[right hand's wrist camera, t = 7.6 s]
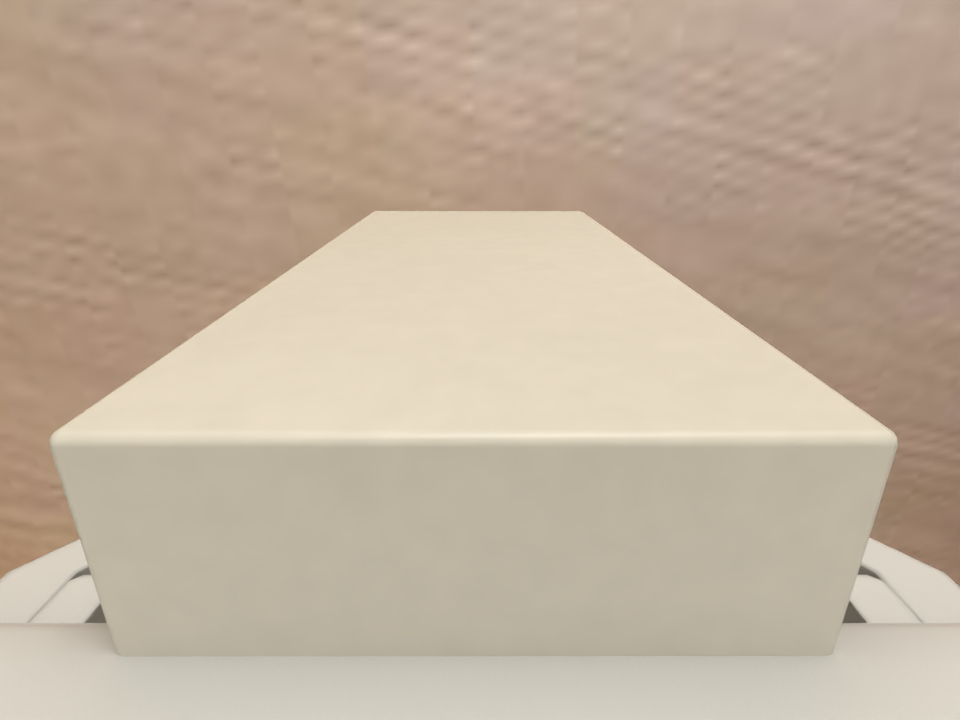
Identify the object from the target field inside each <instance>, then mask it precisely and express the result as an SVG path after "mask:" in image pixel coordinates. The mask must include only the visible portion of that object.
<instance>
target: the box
mask: <svg viewBox="0 0 960 720" xmlns="http://www.w3.org/2000/svg"><path fill="white" fill-rule="evenodd" d="M897 447H898V442H897V437H896V435H895V433H894V432H893V431H891V430H890V429H889V428H887V427H886V426H884V425H883V424H881V423H880V422H879V421H877V420H876V419H874V418H873V417H872V416H870V415H869V414H867V413H866V412H864V411H863V410H862V409H860V408H859V407H857V406H856V405H855V404H853V403H852V402H850V401H849V400H848V399H846V398H845V397H843V396H842V395H840V394H839V393H838V392H836V391H835V390H833V389H832V388H831V387H829V386H828V385H826V384H825V383H824V382H822V381H821V380H819V379H818V378H816V377H815V376H814V375H812V374H811V373H809V372H808V371H807V370H805V369H804V368H802V367H801V366H800V365H798V364H797V363H795V362H794V361H792V360H791V359H790V358H788V357H787V356H785V355H784V354H783V353H781V352H780V351H778V350H777V349H776V348H774V347H773V346H771V345H770V344H768V343H767V342H766V341H764V340H763V339H761V338H760V337H759V336H757V335H756V334H754V333H753V332H752V331H750V330H749V329H747V328H746V327H744V326H743V325H742V324H740V323H739V322H737V321H736V320H735V319H733V318H732V317H730V316H729V315H727V314H726V313H725V312H723V311H722V310H720V309H719V308H718V307H716V306H715V305H713V304H712V303H711V302H709V301H708V300H706V299H705V298H703V297H702V296H701V295H699V294H698V293H696V292H695V291H694V290H692V289H691V288H689V287H688V286H687V285H685V284H684V283H682V282H681V281H679V280H678V279H677V278H675V277H674V276H672V275H671V274H670V273H668V272H667V271H665V270H664V269H663V268H661V267H660V266H658V265H657V264H655V263H654V262H653V261H651V260H650V259H648V258H647V257H646V256H644V255H643V254H641V253H640V252H639V251H637V250H636V249H634V248H633V247H631V246H630V245H629V244H627V243H626V242H624V241H623V240H622V239H620V238H619V237H617V236H616V235H614V234H613V233H612V232H610V231H609V230H607V229H606V228H605V227H603V226H602V225H600V224H599V223H598V222H596V221H595V220H593V219H592V218H590V217H589V216H588V215H586V214H585V213H583V212H581V211H375V212H372V213H371V214H370V215H368V216H367V217H365V218H364V219H362V220H361V221H359V222H358V223H357V224H355V225H354V226H352V227H351V228H349V229H348V230H346V231H345V232H344V233H342V234H341V235H339V236H338V237H336V238H335V239H333V240H332V241H330V242H329V243H328V244H326V245H325V246H323V247H322V248H320V249H319V250H317V251H316V252H315V253H313V254H312V255H310V256H309V257H307V258H306V259H304V260H303V261H301V262H300V263H299V264H297V265H296V266H294V267H293V268H291V269H290V270H288V271H287V272H286V273H284V274H283V275H281V276H280V277H278V278H277V279H275V280H274V281H272V282H271V283H270V284H268V285H267V286H265V287H264V288H262V289H261V290H259V291H258V292H257V293H255V294H254V295H252V296H251V297H249V298H248V299H246V300H245V301H243V302H242V303H241V304H239V305H238V306H236V307H235V308H233V309H232V310H230V311H229V312H228V313H226V314H225V315H223V316H222V317H220V318H219V319H217V320H216V321H214V322H213V323H212V324H210V325H209V326H207V327H206V328H204V329H203V330H201V331H200V332H199V333H197V334H196V335H194V336H193V337H191V338H190V339H188V340H187V341H185V342H184V343H183V344H181V345H180V346H178V347H177V348H175V349H174V350H172V351H171V352H170V353H168V354H167V355H165V356H164V357H162V358H161V359H159V360H158V361H156V362H155V363H154V364H152V365H151V366H149V367H148V368H146V369H145V370H143V371H142V372H141V373H139V374H138V375H136V376H135V377H133V378H132V379H130V380H129V381H127V382H126V383H125V384H123V385H122V386H120V387H119V388H117V389H116V390H114V391H113V392H112V393H110V394H109V395H107V396H106V397H104V398H103V399H101V400H100V401H98V402H97V403H96V404H94V405H93V406H91V407H90V408H88V409H87V410H85V411H84V412H83V413H81V414H80V415H78V416H77V417H75V418H74V419H72V420H71V421H69V422H68V423H67V424H65V425H64V426H62V427H61V428H59V429H58V430H56V431H55V432H54V433H53V435H52V436H51V438H50V449H51V452H52V455H53V458H54V461H55V464H56V467H57V470H58V473H59V476H60V480H61V483H62V486H63V489H64V492H65V495H66V498H67V501H68V504H69V507H70V510H71V514H72V517H73V520H74V523H75V526H76V529H77V532H78V535H79V538H80V541H81V545H82V548H83V551H84V554H85V557H86V560H87V563H88V566H89V569H90V572H91V575H92V579H93V582H94V585H95V588H96V591H97V594H98V597H99V600H100V603H101V606H102V610H103V613H104V616H105V619H106V622H107V625H108V628H109V631H110V634H111V637H112V641H113V644H114V647H115V650H116V653H117V654H118V655H120V656H123V657H175V656H827V655H830V654H832V653H833V650H834V647H835V644H836V641H837V638H838V635H839V631H840V628H841V625H842V622H843V619H844V616H845V612H846V609H847V606H848V603H849V600H850V597H851V593H852V590H853V587H854V584H855V581H856V578H857V574H858V571H859V568H860V565H861V562H862V558H863V555H864V552H865V549H866V546H867V543H868V539H869V536H870V533H871V530H872V527H873V524H874V520H875V517H876V514H877V511H878V508H879V505H880V501H881V498H882V495H883V492H884V489H885V485H886V482H887V479H888V476H889V473H890V470H891V466H892V463H893V460H894V457H895V454H896V451H897Z"/></svg>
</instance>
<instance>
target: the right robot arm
mask: <svg viewBox="0 0 960 720" xmlns="http://www.w3.org/2000/svg"><path fill="white" fill-rule="evenodd" d="M0 720H960V587H959V586H958V585H957V584H956V583H955V582H954V581H953V580H952V579H951V578H950V577H949V576H948V575H947V574H945V573H944V572H942V571H940V570H937V569H935V568H933V567H931V566H929V565H927V564H925V563H923V562H921V561H918V560H916V559H914V558H912V557H910V556H908V555H906V554H904V553H901V552H899V551H897V550H895V549H893V548H891V547H889V546H887V545H885V544H882V543H880V542H878V541H876V540H874V539H872V538H870V537H869V539H868V543H867V546H866V549H865V552H864V555H863V558H862V562H861V565H860V568H859V571H858V574H857V578H856V581H855V584H854V587H853V590H852V593H851V597H850V600H849V603H848V606H847V609H846V612H845V616H844V619H843V622H842V625H841V628H840V631H839V635H838V638H837V641H836V644H835V647H834V650H833V653H832V654H830V655H827V656H175V657H123V656H120V655H118V654H117V653H116V650H115V647H114V644H113V641H112V637H111V634H110V631H109V628H108V625H107V622H106V619H105V616H104V613H103V610H102V606H101V603H100V600H99V597H98V594H97V591H96V588H95V585H94V582H93V579H92V575H91V572H90V569H89V566H88V563H87V560H86V557H85V554H84V551H83V548H82V545H81V541H80V539H78V540H76V541H74V542H72V543H70V544H68V545H66V546H63V547H61V548H59V549H57V550H55V551H53V552H51V553H48V554H46V555H44V556H42V557H40V558H38V559H35V560H33V561H31V562H29V563H27V564H25V565H23V566H20V567H18V568H16V569H14V570H12V571H10V572H8V573H7V574H6V575H5V576H3V577H2V578H1V579H0Z"/></svg>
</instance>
